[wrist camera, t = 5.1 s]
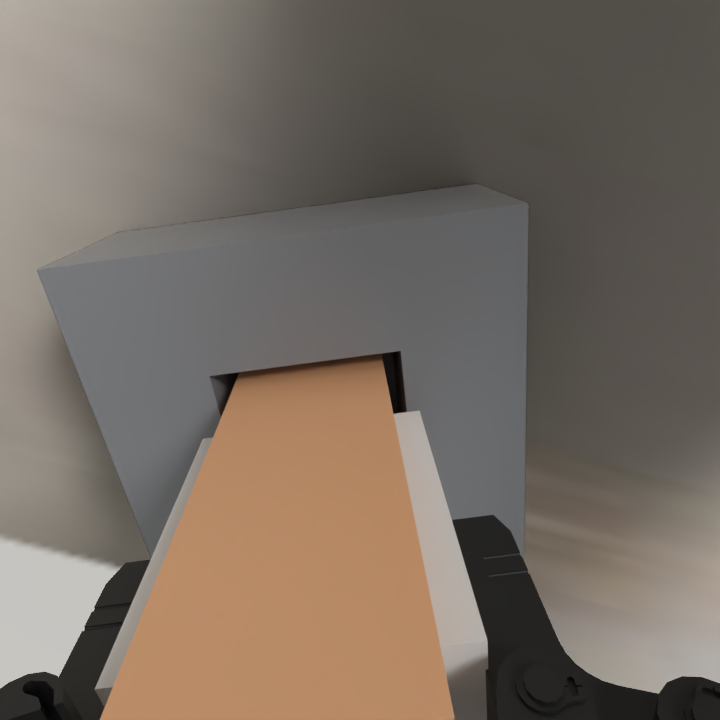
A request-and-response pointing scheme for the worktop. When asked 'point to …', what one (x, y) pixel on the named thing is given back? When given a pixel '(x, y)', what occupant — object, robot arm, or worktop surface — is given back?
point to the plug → (293, 567)
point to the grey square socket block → (309, 331)
